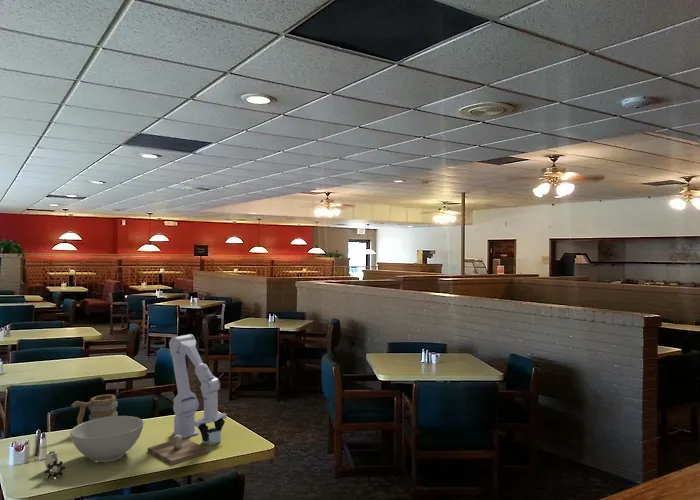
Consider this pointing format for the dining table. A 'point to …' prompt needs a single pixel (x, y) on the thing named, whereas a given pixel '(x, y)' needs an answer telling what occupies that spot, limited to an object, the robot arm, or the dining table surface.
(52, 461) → the valve
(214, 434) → the collar
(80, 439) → the decorative bowl
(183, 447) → the post board
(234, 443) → the dining table surface
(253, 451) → the dining table surface
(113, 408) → the tankard
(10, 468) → the dining table surface
